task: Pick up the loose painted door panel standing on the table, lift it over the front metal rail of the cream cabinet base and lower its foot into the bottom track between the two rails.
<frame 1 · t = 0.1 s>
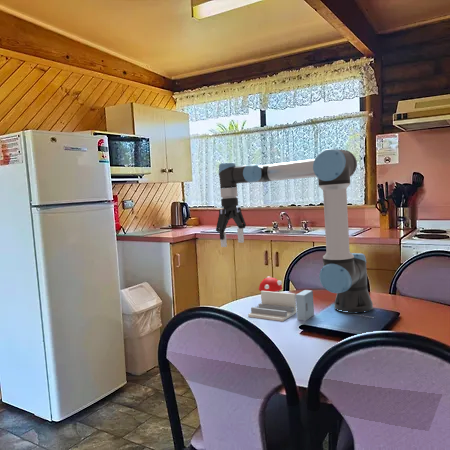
hand: (232, 244, 188), 28 cm above the table, fingers open, 13 cm apart
track: (272, 314, 172), on the table
mushroom: (271, 303, 189), on the table
door: (305, 317, 165), on the table
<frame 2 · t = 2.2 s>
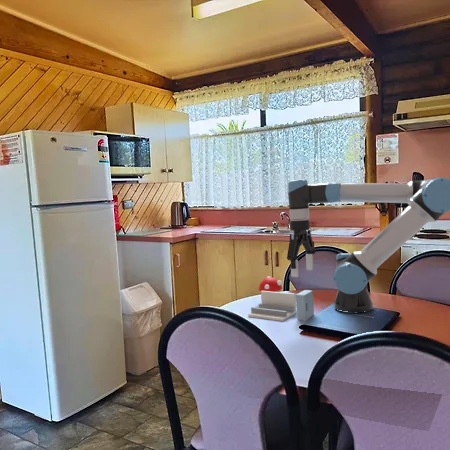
hand: (302, 273, 164), 18 cm above the table, fingers open, 13 cm apart
nothing on the table moved.
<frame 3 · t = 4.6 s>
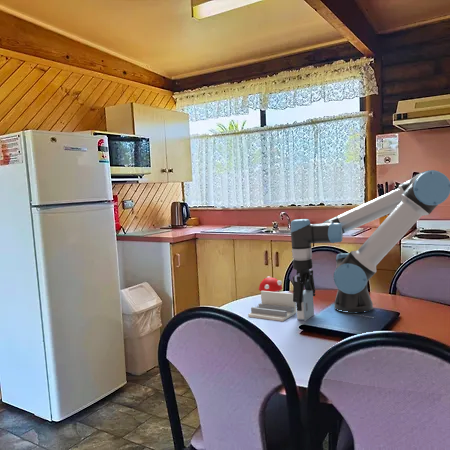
hand: (305, 315, 165), 1 cm above the table, fingers closed on door, 8 cm apart
door: (305, 317, 165), on the table, touching gripper
everything else where it was.
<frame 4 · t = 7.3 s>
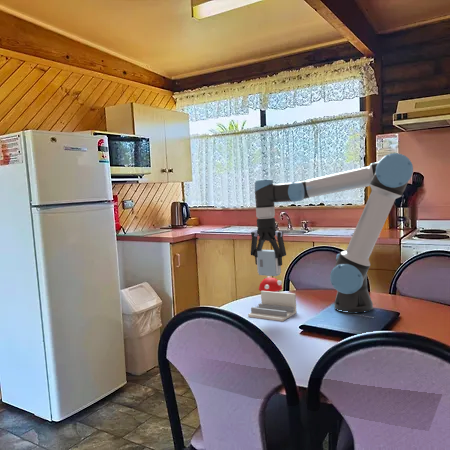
hand: (269, 272, 170), 17 cm above the table, fingers closed on door, 8 cm apart
door: (269, 274, 170), point 17 cm above the table, touching gripper
everything else where it was.
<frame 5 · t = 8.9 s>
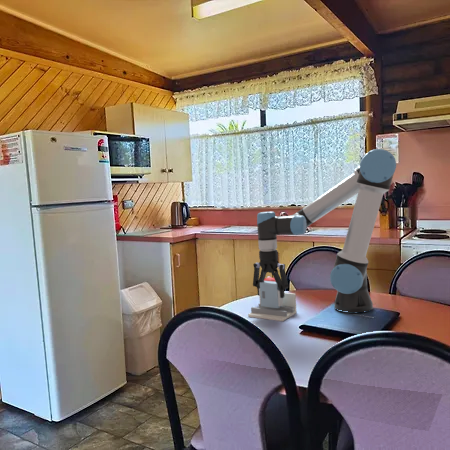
hand: (271, 304, 171), 4 cm above the table, fingers closed on door, 8 cm apart
door: (271, 306, 171), point 4 cm above the table, touching gripper
everything else where it was.
when the fingers open (3 cm above the table, at t = 10.0 s): door stays where it is, resting on track.
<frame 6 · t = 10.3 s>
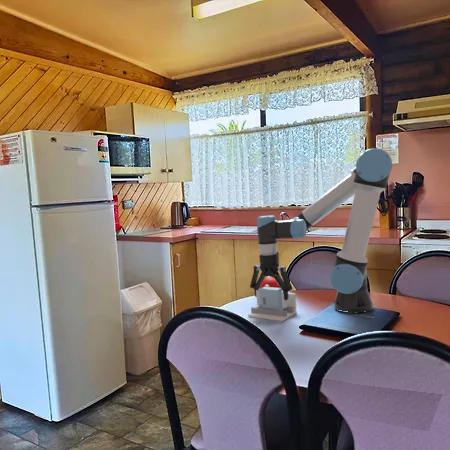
hand: (271, 306, 171), 4 cm above the table, fingers open, 11 cm apart
door: (272, 312, 172), point 1 cm above the table, touching track
everything else where it was.
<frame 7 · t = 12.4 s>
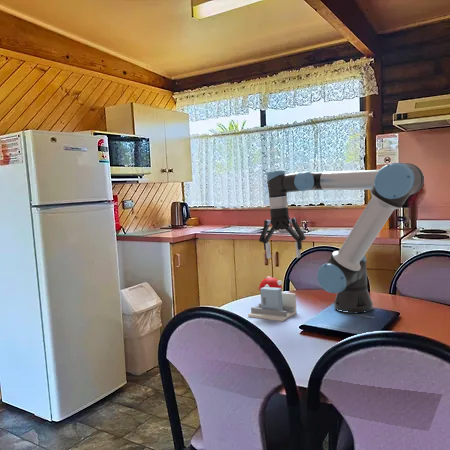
hand: (283, 257, 175), 22 cm above the table, fingers open, 13 cm apart
nothing on the table moved.
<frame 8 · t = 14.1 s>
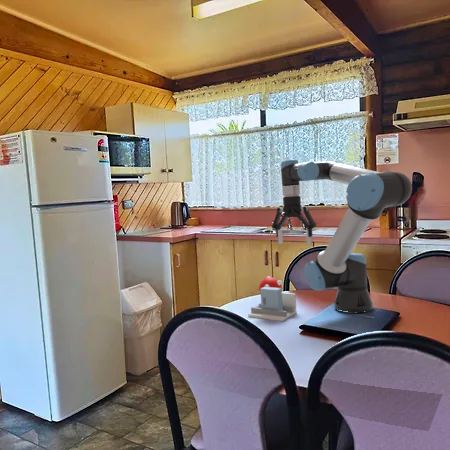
hand: (294, 244, 182), 27 cm above the table, fingers open, 13 cm apart
nothing on the table moved.
at the end: door inside the target area on the track (0.0 cm from its centre), point 1.0 cm above the track's base; door tilted 0°; the gripper is holding nothing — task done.
